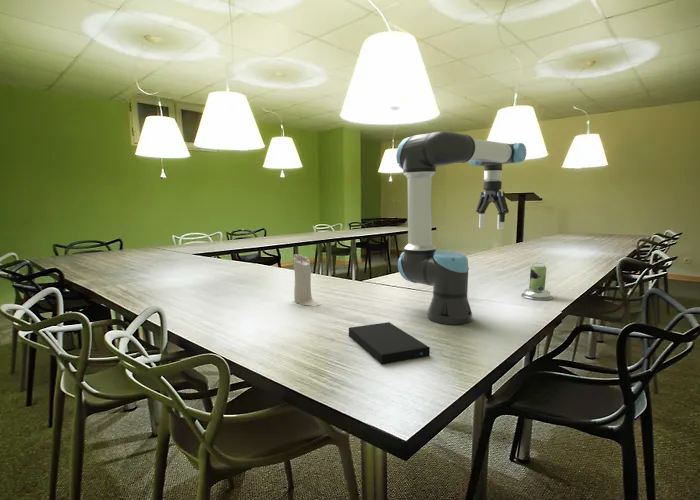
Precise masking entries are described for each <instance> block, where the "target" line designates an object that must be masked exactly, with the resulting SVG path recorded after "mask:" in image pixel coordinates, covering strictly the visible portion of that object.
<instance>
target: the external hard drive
mask: <svg viewBox="0 0 700 500" xmlns="http://www.w3.org/2000/svg"><path fill="white" fill-rule="evenodd" d="M348 337H350V339H352V340H353V341H354V342H355V343H356V344H357V345H359V347H361V348H362V349H364V351H366V353H367V354H369V355H370V357H372V358H373V359H374V360H375V361H376V362H378V363H379V364H380V365H381V366H382V365H389V364H393V363H400V362H405V361H411V360H417V359H421V358H428V357H430V353H431V352H430V350H431V349H430V346H428V345H426V344H425V343H423V342H422V341H420V340H418V339H417V338H415V337H414V336H412V335H410V334H409V333H407V332H406V331H404V330H402V329H401V328H400V327H398V326H396V325H394V324H392V322H390V321H388V322H381V323H372V324H367V325H359V326H351V327H348Z"/></svg>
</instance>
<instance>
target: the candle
mask: <svg viewBox="0 0 700 500" xmlns="http://www.w3.org/2000/svg"><path fill="white" fill-rule="evenodd" d="M293 270H294V290H293V291H294V292H293V293H294V295H293V296H294V297H293V298H294V302H295V303H296V304H298V305H299V304H300V305H303V306H308V307H317V306H320V305H321V304H320V303H319V302H318V301H317V300H315V299H313V296H312V287H311V286H312V284H311V283H312V282H311V280H312V279H311V277H312V276H311V274H312V271H311V260H310V259H309V256H303V254H297V253H295V254H293Z"/></svg>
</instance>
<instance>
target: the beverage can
mask: <svg viewBox="0 0 700 500" xmlns="http://www.w3.org/2000/svg"><path fill="white" fill-rule="evenodd" d="M529 270H530V271H529V283H528V289H531V290H532V291H534V292H542V291H543V290H546V289H545V287H546V277H547V267H546V265H545V264H544V263H540V262H535V263H532V264H531V266H530V269H529Z"/></svg>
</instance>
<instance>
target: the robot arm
mask: <svg viewBox="0 0 700 500" xmlns="http://www.w3.org/2000/svg"><path fill="white" fill-rule="evenodd" d="M526 158H527V146H526V145H525V143H523V142H518V143H517V142H515V143H504V142H498V141H491V140H484V139H476V138H473V137H472V136H471V135H469V134H464V133H458V132H454V131H453V132H452V131H442V130H441V131H439V130H438V131H433V132H429V133H428V132H427V133H422V134H421V133H420V134H416V135H412V136H409V137H405V138H403V139H402V140H401V141H400V143H399V144H398V146H397V149H396V154H395V159H396V162H397V164H398V166H399V168H400V169H402V170H403V171H402V173H403V175H404V177H406V180H407V244H406V245H405V246H404V247H403V250H404V251H402V252H401V253H400V255H399V257H398V262H397V269H398V272H399V274H400V276H401V277H402V278H403V279H404V280H406V281H408V282H411V283H414V284H420V285H425V286H430V287H431V286H432V288H433V291H432V294H433V295H432V299H431V302H430V304H429V308H428V309H427V318H428V319H429V320H430V321H432V322H434V323H438V324H443V325H457V326H458V325H466V324H468V323H471V322H472V321H473V313H472V309H471V306H470V303H469V298H468V291H469V290H468V286H469V285H468V284H469V283H468V282H469V281H468V280H469V270H470V268H469V260H468V257H467V256H466V255H465V254H463V253H461V252H456V251H452V250H451V251H449V250H436V248H437V247H436V246H435V245H434V244H433V243H432V178H433V176H434V175H435V174H436V171H437V170H436V168H437V167H443V166H448V165H453V164H465V163H467V162H468V163H469V165H472V166H475V167H483V180H484V181H483V190H484V191H482V192H480V198H479V201H478V204H477V206H476V210H475V212H476V213H477V214H478V220H479V221H478V222H479V223H478V228H479V229H485V228H486V216H487V215H486V211H487V210H488V207H489V205H490V204H491V203H494V206H495V208H496V210H497V212H498V213H497V225H496V227H497V230H499V231H501V230H504V229H505V220H506V219H505V218H506V214H509V208H508V204H507V200H506V197H505V191H502V181H501V180H502V179H503V174H502V173H503V165H506V164H517V163H523V162H524V161H525V159H526ZM500 190H501V191H500Z"/></svg>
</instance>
